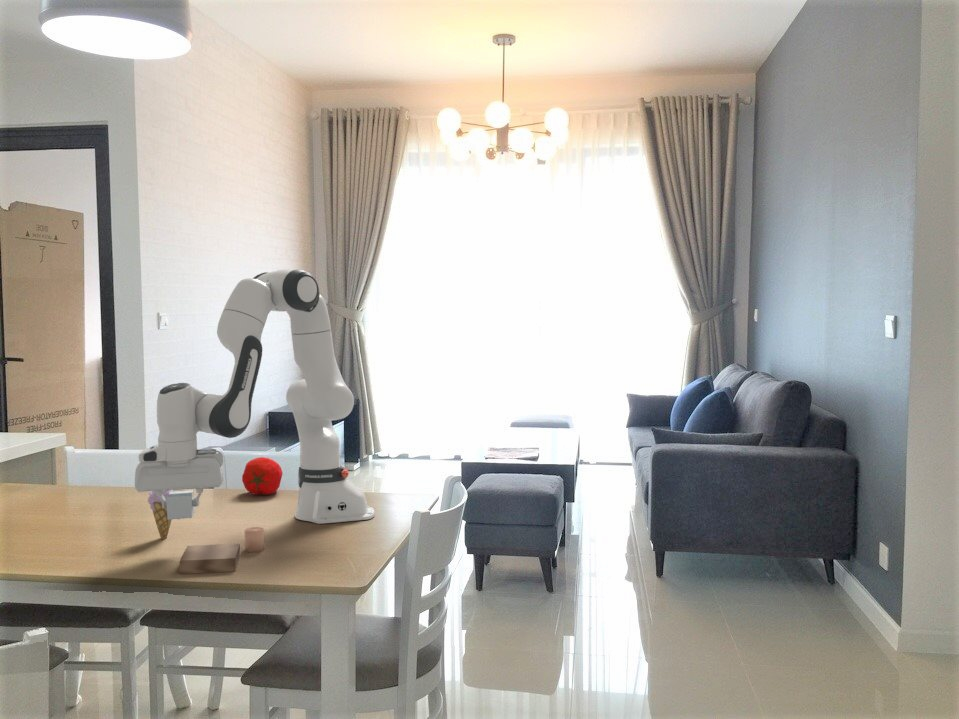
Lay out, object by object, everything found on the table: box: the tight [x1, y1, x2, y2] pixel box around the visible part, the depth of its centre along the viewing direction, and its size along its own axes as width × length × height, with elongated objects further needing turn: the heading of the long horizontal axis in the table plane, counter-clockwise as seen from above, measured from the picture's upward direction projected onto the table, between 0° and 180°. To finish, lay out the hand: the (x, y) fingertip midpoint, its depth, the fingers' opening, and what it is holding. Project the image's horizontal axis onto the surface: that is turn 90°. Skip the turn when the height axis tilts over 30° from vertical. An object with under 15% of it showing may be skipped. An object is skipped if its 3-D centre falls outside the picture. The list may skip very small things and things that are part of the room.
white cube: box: [166, 489, 196, 520], centre depth 208 cm, size 6×6×6 cm
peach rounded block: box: [244, 526, 265, 553], centre depth 211 cm, size 5×5×5 cm
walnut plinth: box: [179, 543, 241, 575], centre depth 199 cm, size 12×12×3 cm
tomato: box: [241, 456, 283, 496], centre depth 272 cm, size 13×13×13 cm
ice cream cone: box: [147, 490, 175, 540], centre depth 220 cm, size 7×6×15 cm
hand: (180, 507), depth 209 cm, fingers closed on white cube, 5 cm apart
